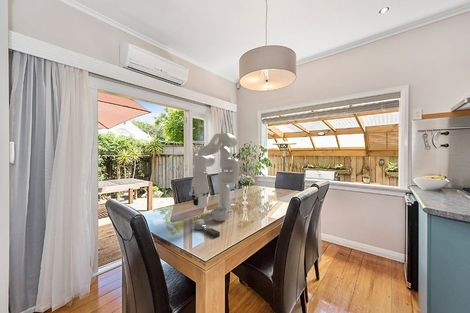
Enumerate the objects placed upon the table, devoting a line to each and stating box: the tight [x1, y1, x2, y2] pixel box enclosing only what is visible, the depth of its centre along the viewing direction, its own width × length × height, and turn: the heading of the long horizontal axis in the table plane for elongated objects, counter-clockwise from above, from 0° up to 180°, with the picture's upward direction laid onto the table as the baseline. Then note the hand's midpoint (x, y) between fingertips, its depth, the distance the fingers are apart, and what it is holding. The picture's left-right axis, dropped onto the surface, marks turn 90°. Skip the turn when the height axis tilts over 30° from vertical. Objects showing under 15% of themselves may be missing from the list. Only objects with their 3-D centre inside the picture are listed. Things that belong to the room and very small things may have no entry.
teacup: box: [211, 206, 228, 222], centre depth 145 cm, size 14×11×8 cm
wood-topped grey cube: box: [192, 194, 208, 209], centre depth 127 cm, size 6×6×7 cm
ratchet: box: [193, 218, 221, 239], centre depth 123 cm, size 21×8×6 cm, turn 43°
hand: (200, 204), depth 127 cm, fingers closed on wood-topped grey cube, 6 cm apart
